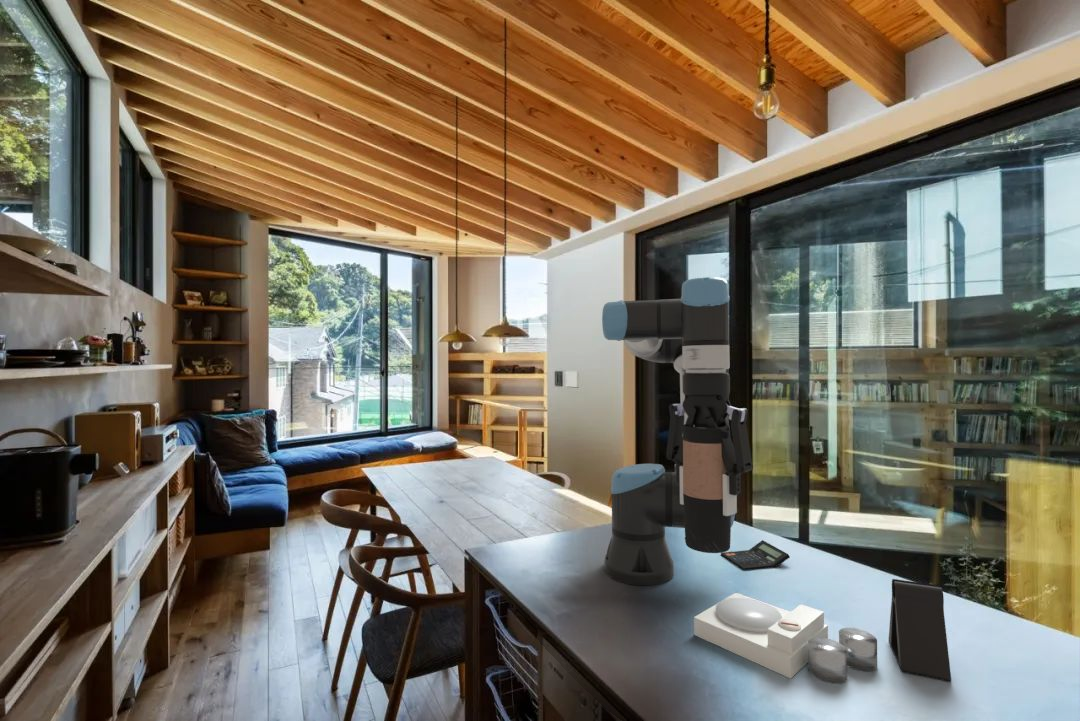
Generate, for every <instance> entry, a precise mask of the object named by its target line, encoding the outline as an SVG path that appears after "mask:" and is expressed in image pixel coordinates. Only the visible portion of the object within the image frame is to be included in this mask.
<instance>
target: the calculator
mask: <svg viewBox="0 0 1080 721" xmlns="http://www.w3.org/2000/svg"><path fill="white" fill-rule="evenodd" d="M720 556H722V557H723V558H725V559H726V560H727V561H729V562H731V563H732V564H734V566H737V567H738V568H739V569H741V570H742V571H752V570H753V571H754V570H762V569H773V568H777V567H778V566H780V565H782V564H783V563H784V562H785V561H787V560H789V559H790V558H791V556H790V555H789V554H788V553H787V552H786V551H783V550H781V549H779V548H778V547H776V546H774V545H772V544H771V543H768V542H766V541H765V540H763V539H762V540H761V541H759V542H758V543H756V544H754V546H752V547H751V548H749V549H748V550H747V549H746V550H737V551H736V550H734V551H726V552H722V553H720Z"/></svg>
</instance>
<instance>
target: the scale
mask: <svg viewBox="0 0 1080 721" xmlns="http://www.w3.org/2000/svg"><path fill="white" fill-rule="evenodd" d="M828 626H829V625H828V624H826V623H825V611H822V610H820V609H816V608H813V607H810V606H807V605H805V604H799V605H798V606H797V607H796V608H794V609H792V610H791V611H789V610H786V609H783V608H781V607H777V606H775V605H772V604H770V603H766V602H764V601H761V600H758V599H755V598H753V597H749V596H746V595H744V594H741V593H739V592H734V593H733V594H731V595H729V596H727V597H725V598H724V599H722V600H720V601H719V602H717V603H715V604H713V606H711V607H709V608H707V609H706V610H704V611H702V612H701V613H699V614H697V615H695V616H693V628H694V629H693V632H694V633H693V634H694V636H695V637H698V638H700V639H702V640H704V641H706V642H709V643H710V644H711V643H712V644H714V645H716V646H719V647H720V648H722V649H724V650H727V651H729V652H731V653H733V654H735V655H737V656H739V657H742V658H745V659H746V660H749V661H750V662H753V663H756V664H758V665H760V666H762V667H765V668H766V669H769V670H771V671H773V672H776V673H777V674H780V675H782V676H783V677H786V678H789V679H792V678H793V677H794V676H795V675H796V674H797V673H798V672H799V671H800V670H801V669H802V668H803V667H804V666H806V665H807V664H808V641H809V640H810V639H811V638H815V637H822V638H828V639H829V627H828Z"/></svg>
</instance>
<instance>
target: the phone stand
mask: <svg viewBox="0 0 1080 721" xmlns="http://www.w3.org/2000/svg"><path fill="white" fill-rule="evenodd" d="M944 600H945V598H944V593H943V587H940V585H939V584H935V583H934V584H931V583H924V582H918V581H910V580H903V579H896V578H892V579H891V604H890V615H889V616H890V617H889V629H888V630H889V631H888V644H889V647H890V648H891V651H892V653H893V656H894V659H895V660H896V664H897V665H898V668H899V670H900V672H901V673H904V674H905V673H906V674H911V675H915V676H916V675H917V676H920V677H925V678H930V679H936V680H940V681H946V682H951V683H952V674H951V665H950V657H949V654H950V653H949V647H948V636H947V627H946V619H945V610H944V608H945V607H944Z"/></svg>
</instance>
